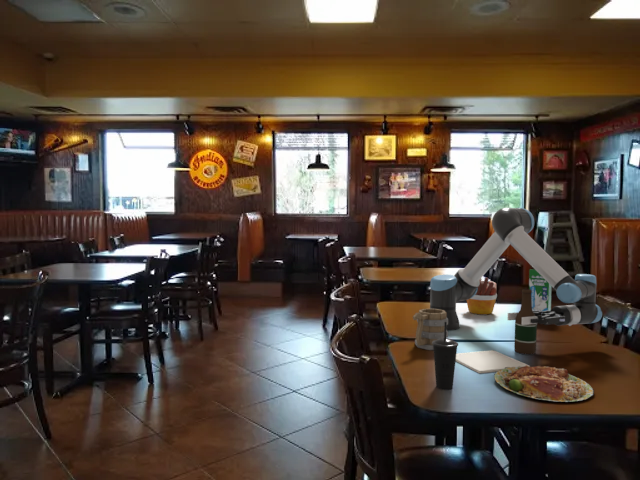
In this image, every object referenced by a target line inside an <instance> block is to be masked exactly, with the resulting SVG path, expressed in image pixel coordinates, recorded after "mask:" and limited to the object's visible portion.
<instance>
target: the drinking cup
mask: <svg viewBox="0 0 640 480" xmlns="http://www.w3.org/2000/svg"><path fill="white" fill-rule="evenodd" d="M447 331H448V330H447V322H444V338H440V339H437V340H434V341H433V342H432V344H433V349H434V350H433V359H434V360H433V362H434V374H435V386H436V388H437V389H440V390H446V391H447V390H448V391H449V390H452V389H453V387H454V377H455V370H456V354H457V352H458V351H457V350H458V346H459V343H458V342H457V341H455V340H454V339H451V338H448V337H446V333H447Z"/></svg>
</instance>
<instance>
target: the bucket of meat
mask: <svg viewBox="0 0 640 480" xmlns="http://www.w3.org/2000/svg"><path fill="white" fill-rule="evenodd" d="M479 281H480V285H479V286H478V287H477V288H478V290H477V293H476V294H475V295H474V296H473V297H472V298H470V299H468V300H466V303H467V304H466V305H467V308H468V312H469V313H471V314H473V315H480V316H483V315H484V316H485V315H486V316H487V315H492V313H493V312H494V309H495V304H496V300H497V297H498V294H497V283H496V282H494V281H492V280H489V277H485V278H484V279H483V280H482V278H481V279H480V280H479Z"/></svg>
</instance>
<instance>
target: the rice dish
mask: <svg viewBox="0 0 640 480" xmlns="http://www.w3.org/2000/svg"><path fill="white" fill-rule="evenodd" d="M527 365H528V364H527ZM527 365H526V366H524V367H520V366H519V367H505V368H504V369H502V370H499V371H497V372H494V380H495V382H496V383H497V384H499V386H501V387H502V388H504V389H505V390H507V391H510V392H512V393H514V394H517V395H519V396H522V397H527V398H528V399H535V400H538V401H539V400H541V401H548V402H554V403H557V402H560V403H562V402H565V403H571V402H572V403H573V402H581V401H586V400H588V399H591V398H592V397H593V396H594V395H595V389H594V388H593V387H592V386H591V385H590V384H589V383H588V382H586V381H585V380H583V379H581V378H579V377H576V376H575V375H572V374H570V373H569V371H568V370H567V369H565V368H556V367H555V366H554V367H551V366H545V365H543V366H541V365H537V366H530V365H529V366H530V367H529V366H527Z"/></svg>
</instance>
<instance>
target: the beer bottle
mask: <svg viewBox="0 0 640 480" xmlns="http://www.w3.org/2000/svg"><path fill="white" fill-rule="evenodd" d="M521 293H522V294H521V303H520V308H519V310H518V312H519V313H518V314H517V316H516V319H515V320H514V345H513V346H514V347H513V348H514V352H516V353H517V354H521V355H527V356H529V355H535V353H536V351H537V334H538V333H537V330H538V329H537V327H538V323H537V324H529V325H522V317H533V316H535V314H534V312H533V311H532V300H531V293H532V290H531V289H529V288H523V289H522V290H521Z"/></svg>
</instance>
